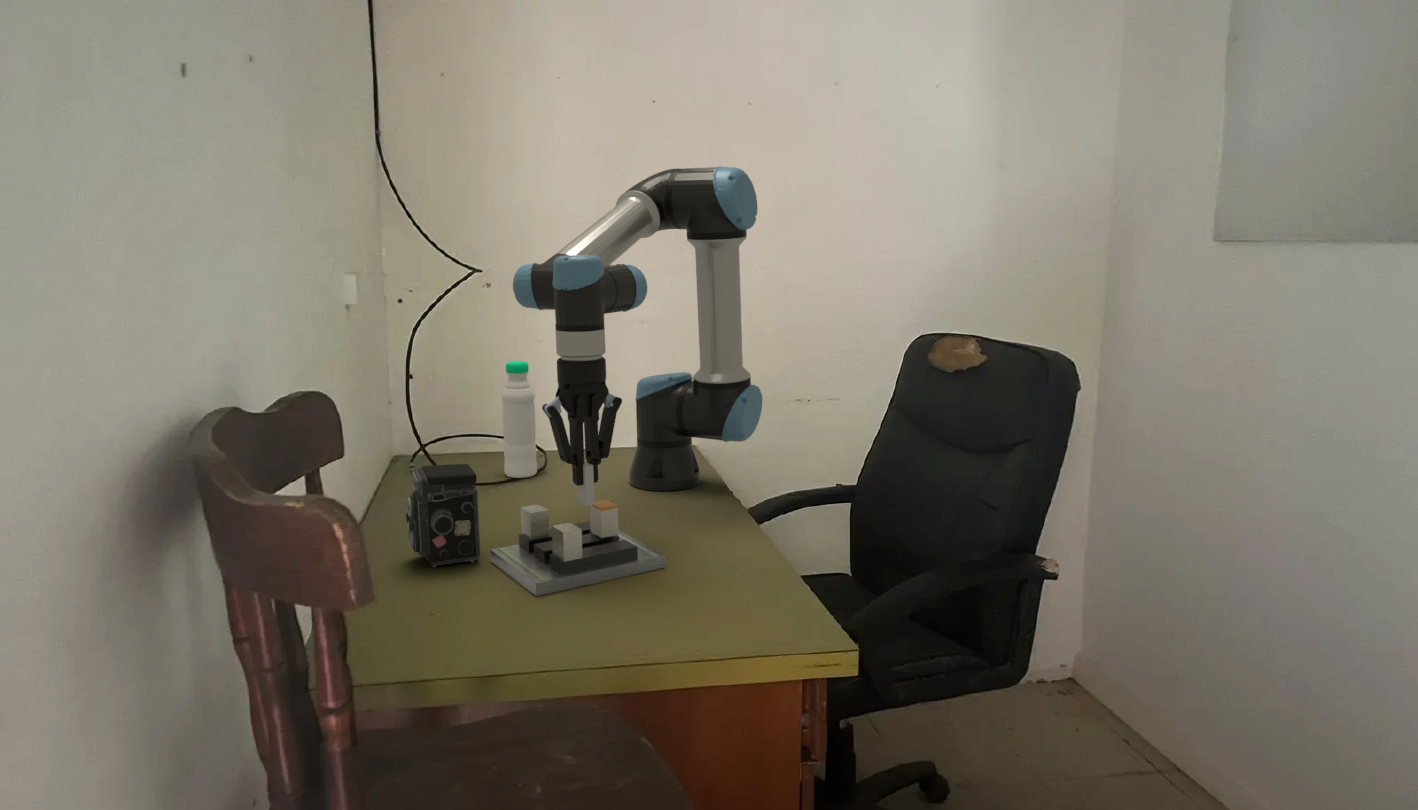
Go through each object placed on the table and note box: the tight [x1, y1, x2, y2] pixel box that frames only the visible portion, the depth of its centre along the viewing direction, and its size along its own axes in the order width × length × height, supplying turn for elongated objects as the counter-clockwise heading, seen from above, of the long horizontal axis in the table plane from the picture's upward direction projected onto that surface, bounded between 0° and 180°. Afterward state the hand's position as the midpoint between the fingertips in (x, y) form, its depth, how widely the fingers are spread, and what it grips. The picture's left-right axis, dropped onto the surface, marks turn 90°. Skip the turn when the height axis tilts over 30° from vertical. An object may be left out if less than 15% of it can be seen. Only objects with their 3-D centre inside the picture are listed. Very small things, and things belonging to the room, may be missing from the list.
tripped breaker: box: [589, 499, 619, 538], centre depth 151 cm, size 3×4×5 cm
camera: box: [405, 463, 481, 568], centre depth 151 cm, size 10×10×15 cm
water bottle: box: [501, 360, 538, 479], centre depth 204 cm, size 7×7×25 cm
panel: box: [490, 504, 667, 597], centre depth 149 cm, size 22×18×8 cm
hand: (586, 503), depth 149 cm, fingers closed
